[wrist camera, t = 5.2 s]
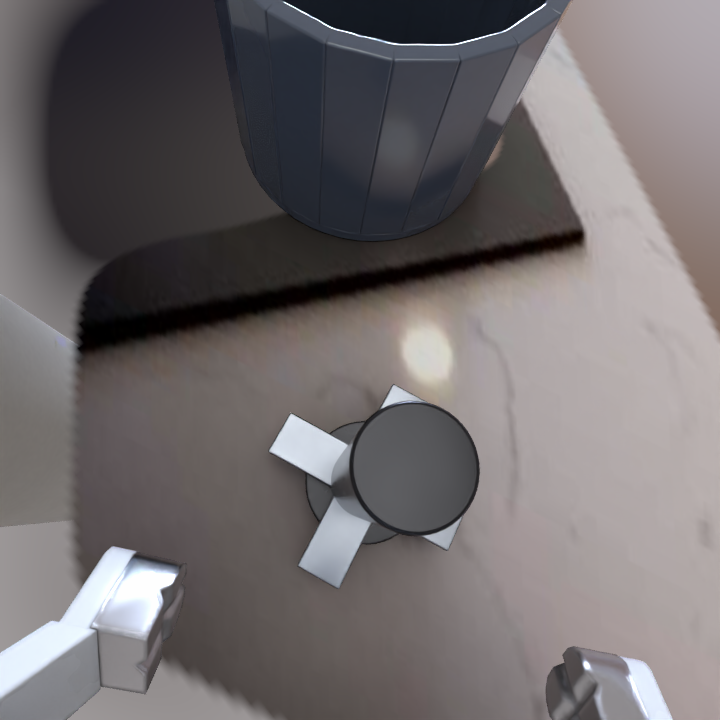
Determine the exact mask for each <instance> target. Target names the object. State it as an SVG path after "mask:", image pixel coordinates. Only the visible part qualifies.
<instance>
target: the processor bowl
mask: <svg viewBox="0 0 720 720" xmlns="http://www.w3.org/2000/svg"><path fill="white" fill-rule="evenodd" d="M572 1H573V0H214V2H215V8H216V13H217V18H218V23H219V28H220V34H221V39H222V44H223V49H224V54H225V60H226V65H227V70H228V75H229V81H230V86H231V91H232V96H233V102H234V107H235V112H236V117H237V123H238V128H239V133H240V138H241V143H242V145H243V148H244V150H245V154H246V158H247V161H248V163H249V166H250V168H251V170H252V173H253V174H254V176H255V178H256V179H257V181H258V183H259V184H260V186H261V187H262V188H263V189H264V191H265V192H266V193H267V194H268V196H269V197H270V198H271V199H272V200H273V201H274V202H275V203H276V204H277V205H278V206H279V207H281V208H282V209H283V210H284V211H285V212H287V213H288V214H290V215H291V216H292V217H294V218H295V219H297V220H299V221H300V222H302V223H304V224H306V225H308V226H309V227H312V228H314V229H316V230H319V231H321V232H324V233H326V234H330V235H334V236H337V237H341V238H346V239H352V240H359V241H383V240H393V239H398V238H403V237H408V236H411V235H414V234H417V233H420V232H422V231H425V230H427V229H429V228H431V227H433V226H435V225H437V224H438V223H439V222H441V221H442V220H444V219H445V218H447V217H448V216H449V215H451V214H452V213H453V212H454V211H455V210H456V209H457V208H458V207H459V206H460V205H461V204H462V202H463V201H464V200H465V199H466V197H467V196H468V195H469V193H470V191H471V189H472V188H473V186H474V184H475V182H476V181H477V179H478V177H479V176H480V174H481V172H482V171H483V169H484V167H485V165H486V163H487V161H488V159H489V157H490V156H491V154H492V152H493V150H494V148H495V146H496V144H497V142H498V141H499V139H500V137H501V135H502V133H503V131H504V129H505V127H506V125H507V124H508V122H509V120H510V118H511V116H512V114H513V112H514V110H515V108H516V107H517V105H518V103H519V101H520V99H521V97H522V95H523V93H524V91H525V90H526V88H527V86H528V84H529V82H530V80H531V78H532V76H533V74H534V73H535V71H536V69H537V67H538V65H539V63H540V61H541V59H542V57H543V56H544V54H545V52H546V50H547V48H548V46H549V44H550V42H551V40H552V39H553V37H554V35H555V33H556V31H557V29H558V27H559V25H560V23H561V22H562V20H563V18H564V16H565V14H566V12H567V10H568V8H569V6H570V4H571V3H572Z"/></svg>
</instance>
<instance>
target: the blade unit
mask: <svg viewBox="0 0 720 720" xmlns="http://www.w3.org/2000/svg"><path fill="white" fill-rule="evenodd" d="M269 453H271V454H273V455H274V456H276V457H278V458H280V459H282V460H283V461H285V462H287V463H289V464H291V465H292V466H294V467H296V468H298V469H300V470H301V471H303V472H305V473H306V493H307V498H308V502H309V505H310V507H311V509H312V511H313V513H314V515H315V517H316V518H317V520H318V521H319V524H318V526H317V528H316V530H315V532H314V534H313V536H312V538H311V540H310V541H309V543H308V545H307V547H306V549H305V551H304V553H303V555H302V557H301V559H300V560H299V562H298V567H300V568H301V569H303V570H305V571H307V572H308V573H310V574H312V575H314V576H315V577H317V578H319V579H321V580H322V581H324V582H326V583H328V584H330V585H331V586H333V587H335V588H337V589H339V588H340V586H341V584H342V582H343V580H344V578H345V576H346V574H347V572H348V570H349V568H350V566H351V564H352V562H353V560H354V558H355V556H356V554H357V552H358V550H359V548H360V546H361V544H366V545H368V544H376V543H380V542H384V541H386V540H389V539H391V538H393V537H394V536H396V535H398V534H402V535H408V536H420V537H422V538H424V539H426V540H427V541H429V542H431V543H433V544H434V545H436V546H438V547H440V548H442V549H443V550H446V551H448V550H449V548H450V545H451V543H452V541H453V538H454V536H455V534H456V532H457V529H458V527H459V525H460V522H461V520H462V518H463V516H464V514H465V513H466V511H467V510H468V508H469V507H470V505H471V503H472V501H473V499H474V497H475V494H476V492H477V488H478V483H479V475H480V468H479V459H478V454H477V450H476V447H475V445H474V442H473V440H472V438H471V436H470V434H469V433H468V431H467V430H466V428H465V427H464V426H463V424H462V423H461V422H460V421H459V420H458V419H457V418H456V417H454V416H453V415H452V414H451V413H449V412H448V411H446V410H444V409H443V408H441V407H438V406H436V405H434V404H430V403H428V402H426V401H424V400H422V399H420V398H419V397H417V396H415V395H413V394H411V393H409V392H407V391H406V390H404V389H402V388H400V387H398V386H396V385H395V384H393V385H392V386H391V388H390V390H389V391H388V393H387V395H386V397H385V399H384V401H383V403H382V405H381V407H380V409H379V410H378V411H377V412H376V413H374V414H373V415H372V416H371V417H370V418H369V419H367V420H366V421H362V422H354V423H349V424H346V425H343V426H341V427H339V428H337V429H335V430H334V431H332V432H331V433H327V432H326V431H324V430H322V429H320V428H318V427H317V426H315V425H313V424H311V423H309V422H307V421H306V420H304V419H302V418H300V417H298V416H297V415H295V414H293V413H290V414H289V416H288V418H287V420H286V421H285V423H284V425H283V426H282V428H281V430H280V432H279V433H278V435H277V437H276V438H275V440H274V442H273V443H272V445H271V447H270V449H269Z"/></svg>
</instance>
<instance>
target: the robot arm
mask: <svg viewBox="0 0 720 720" xmlns="http://www.w3.org/2000/svg"><path fill="white" fill-rule="evenodd" d="M186 565H187V563H184V562H179V561H175V560H171V559H166V558H162V557H158V556H153V555H149V554H145V553H140V552H137V551H133V550H128V549H123V548H119V547H114V546H112V547H111V548H110V549H109V550H108V551H107V552H105V553H104V555H103V556H102V558H101V559H100V561H99V562H98V564H97V566H96V567H95V569H94V570H93V572H92V573H91V575H90V576H89V578H88V579H87V581H86V582H85V584H84V585H83V587H82V588H81V590H80V591H79V593H78V594H77V596H76V597H75V599H74V600H73V602H72V603H71V605H70V606H69V608H68V609H67V611H66V612H65V614H64V615H63V617H62V618H61V620H60V621H59V622H57V621H50V622H48V623H47V624H45V625H43V626H42V627H40V628H39V629H37V630H35V631H34V632H33V633H31V634H29V635H27V636H26V637H24V638H23V639H21V640H20V641H18V642H16V643H15V644H13V645H12V646H10V647H9V648H7V649H5V650H4V651H2V652H1V653H0V720H67V719H68V718H69V717H70V716H71V715H72V714H74V713H75V712H76V711H77V710H78V709H79V708H80V707H81V706H83V705H84V704H85V703H86V702H87V701H88V700H89V699H90V698H92V697H93V696H94V695H95V694H96V693H97V692H98V691H99V690H100V686H101V687H107V688H113V689H119V690H124V691H130V692H136V693H141V694H146V692H147V690H148V688H149V685H150V683H151V681H152V678H153V676H154V674H155V672H156V670H157V667H158V665H159V663H160V660H161V655H162V643H163V642H164V641H165V640H167V639H168V638H169V637H171V635H172V633H173V630H174V628H175V626H176V623H177V621H178V618H179V614H180V611H181V608H182V605H183V600H184V595H185V587H184V586H183V584H182V582H183V580H184V578H185V575H186ZM563 659H564V663H562V664H560V665H557V666H555V667H553V669H552V670H551V672H550V673H549V675H548V677H547V683H546V703H547V707H548V712H549V716H550V717H551V719H552V720H673V719H672V717H671V714H670V712H669V710H668V708H667V705H666V703H665V701H664V699H663V696H662V694H661V692H660V689H659V687H658V685H657V683H656V680H655V678H654V676H653V674H652V671H651V669H650V668H649V667H648V665H647V664H646V663H645V662H643V661H640V660H636V659H631V658H626V657H621V656H618V655H615V654H610V653H605V652H600V651H595V650H590V649H585V648H580V647H575V646H573V647H569V648H567V650H566V651H565V652H564V653H563Z"/></svg>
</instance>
